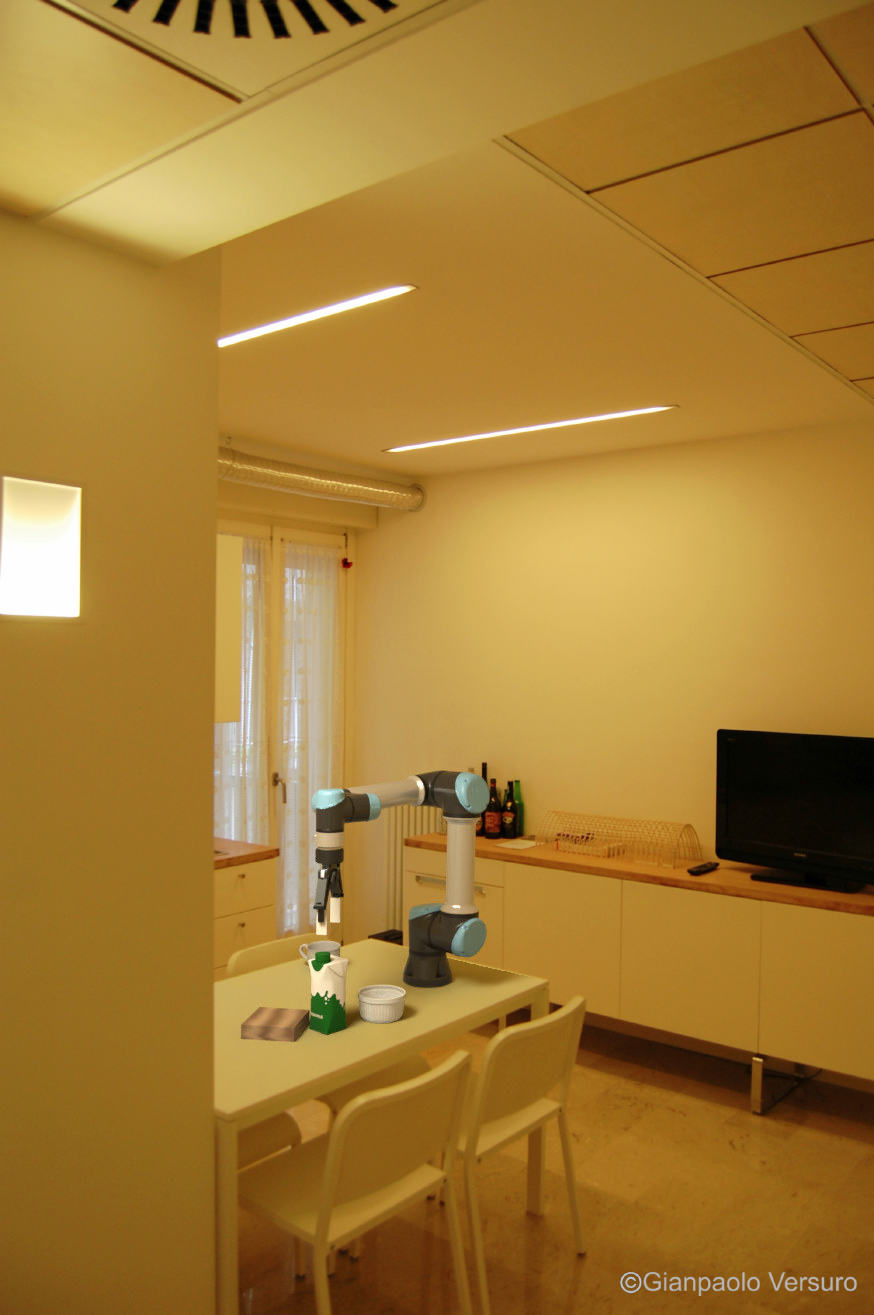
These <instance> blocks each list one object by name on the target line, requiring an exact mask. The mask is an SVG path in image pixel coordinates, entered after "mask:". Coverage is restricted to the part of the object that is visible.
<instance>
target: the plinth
mask: <svg viewBox="0 0 874 1315" xmlns="http://www.w3.org/2000/svg"><path fill="white" fill-rule="evenodd" d="M310 1012H311V1009H303V1008H302V1009H300V1008H282V1007H267V1006H266V1007H264V1006H263V1007H262V1006H259V1007H258V1008H257V1009H255V1011H254V1012H253V1013H252V1014H251V1015H249V1017H248V1018H246V1019H245V1020H244V1021H243V1022H242V1023H241V1025H240V1039H241V1040H254V1041H255V1040H256V1041H270V1042H282V1043H283V1042H287V1043H288V1042H289V1043H295V1041H296V1040H297V1039H298V1038H299V1036H300V1035H301V1034H303V1032H304V1031H305V1029H306V1028H307V1027H309V1025H310Z"/></svg>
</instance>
